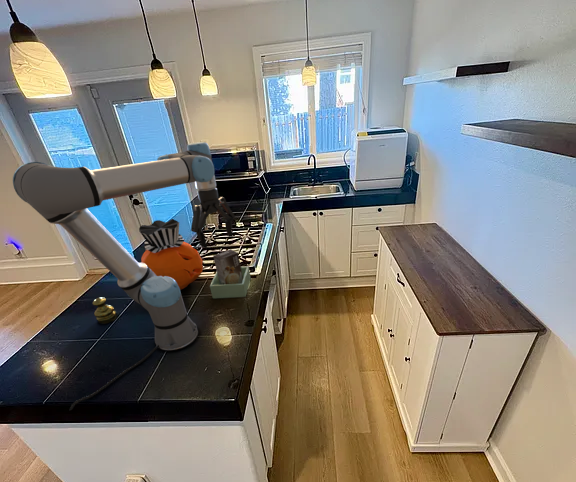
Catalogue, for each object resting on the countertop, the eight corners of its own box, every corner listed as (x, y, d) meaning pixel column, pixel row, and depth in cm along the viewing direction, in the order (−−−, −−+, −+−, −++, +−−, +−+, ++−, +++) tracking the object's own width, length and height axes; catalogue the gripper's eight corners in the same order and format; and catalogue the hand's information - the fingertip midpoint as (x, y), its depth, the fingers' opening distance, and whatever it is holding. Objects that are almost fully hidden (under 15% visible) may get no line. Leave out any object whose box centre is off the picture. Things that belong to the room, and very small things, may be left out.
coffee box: (237, 280, 147) (231, 248, 138) (244, 284, 143) (238, 252, 134) (220, 287, 143) (212, 255, 134) (227, 292, 139) (220, 259, 130)
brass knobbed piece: (121, 314, 132) (112, 294, 127) (108, 325, 126) (98, 304, 121) (107, 313, 134) (97, 293, 129) (94, 323, 128) (83, 303, 123)
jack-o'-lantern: (211, 290, 143) (195, 226, 126) (151, 305, 136) (125, 241, 119) (202, 266, 164) (187, 209, 148) (149, 278, 157) (127, 220, 141)
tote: (245, 296, 136) (243, 284, 133) (212, 298, 137) (209, 286, 134) (250, 278, 150) (248, 266, 146) (220, 279, 151) (218, 268, 147)
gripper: (184, 197, 109) (198, 254, 120) (238, 182, 124) (245, 233, 136) (172, 195, 113) (187, 249, 125) (225, 180, 128) (234, 230, 140)
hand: (217, 241), depth 130 cm, fingers open, 13 cm apart
